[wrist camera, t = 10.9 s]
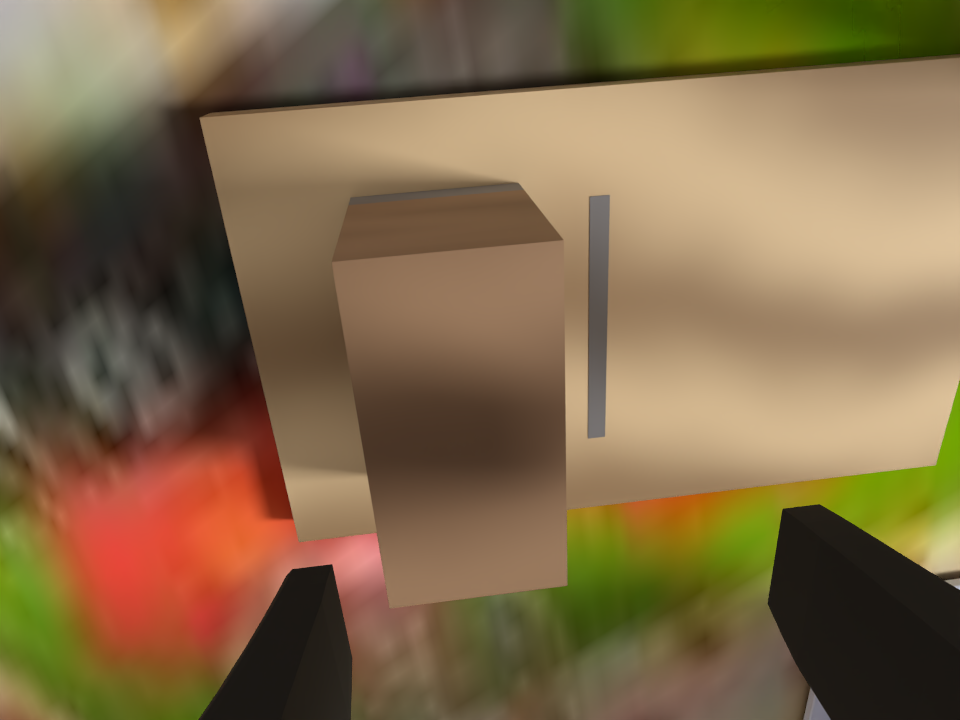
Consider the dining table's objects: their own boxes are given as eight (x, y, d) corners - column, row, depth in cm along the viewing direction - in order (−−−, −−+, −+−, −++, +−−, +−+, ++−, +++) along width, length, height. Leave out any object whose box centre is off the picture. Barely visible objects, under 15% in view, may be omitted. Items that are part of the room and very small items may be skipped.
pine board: (914, 448, 22) (935, 465, 21) (303, 520, 21) (298, 542, 20) (1017, 49, 17) (1052, 50, 16) (211, 112, 16) (199, 117, 15)
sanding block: (529, 460, 20) (567, 585, 15) (391, 476, 19) (389, 608, 15) (518, 182, 16) (563, 240, 12) (350, 197, 16) (331, 262, 11)
